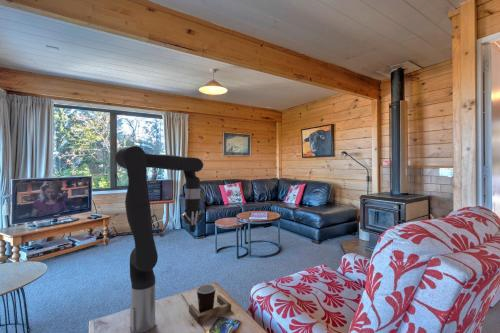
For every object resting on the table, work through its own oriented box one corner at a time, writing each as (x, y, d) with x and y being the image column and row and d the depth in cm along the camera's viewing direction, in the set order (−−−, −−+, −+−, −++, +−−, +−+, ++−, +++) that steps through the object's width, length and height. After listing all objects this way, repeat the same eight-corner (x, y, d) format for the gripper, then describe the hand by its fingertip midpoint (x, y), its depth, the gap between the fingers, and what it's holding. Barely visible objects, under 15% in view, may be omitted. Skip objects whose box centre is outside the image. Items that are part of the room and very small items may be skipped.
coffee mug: (213, 316, 110) (213, 293, 110) (194, 315, 110) (194, 293, 111) (218, 302, 122) (218, 281, 122) (201, 301, 122) (201, 281, 122)
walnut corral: (198, 323, 105) (198, 316, 105) (189, 311, 114) (189, 305, 114) (231, 311, 114) (231, 304, 114) (219, 300, 123) (219, 294, 123)
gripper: (199, 196, 132) (198, 228, 131) (177, 197, 122) (176, 233, 122) (207, 197, 127) (207, 231, 126) (185, 199, 117) (185, 235, 117)
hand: (192, 232), depth 124 cm, fingers closed
